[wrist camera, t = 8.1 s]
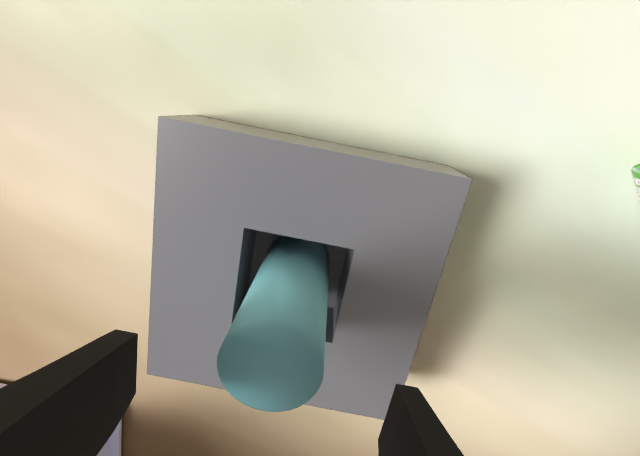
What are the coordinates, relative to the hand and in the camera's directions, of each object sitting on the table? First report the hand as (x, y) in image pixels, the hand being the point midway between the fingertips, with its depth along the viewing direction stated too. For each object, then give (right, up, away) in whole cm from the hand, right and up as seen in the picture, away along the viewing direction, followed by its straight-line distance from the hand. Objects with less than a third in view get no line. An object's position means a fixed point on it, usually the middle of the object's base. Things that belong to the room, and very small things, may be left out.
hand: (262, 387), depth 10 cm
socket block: (+1, +3, +9) cm, 9 cm away
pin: (+1, +3, +8) cm, 9 cm away
